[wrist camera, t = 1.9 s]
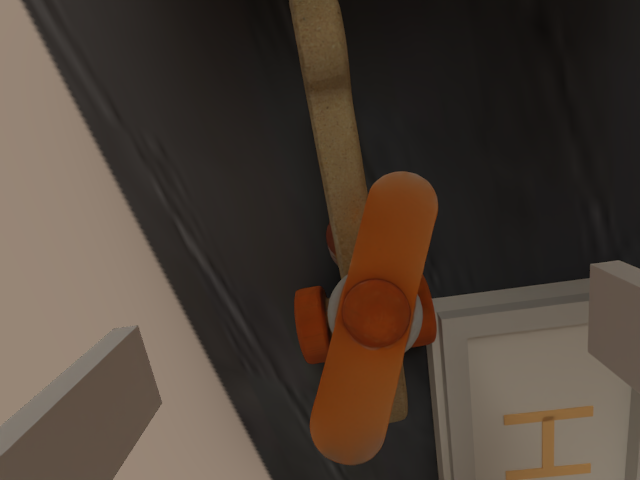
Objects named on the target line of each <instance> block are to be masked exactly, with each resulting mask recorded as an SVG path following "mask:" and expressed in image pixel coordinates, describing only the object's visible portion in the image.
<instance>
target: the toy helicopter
mask: <svg viewBox="0 0 640 480" xmlns="http://www.w3.org/2000/svg"><path fill="white" fill-rule="evenodd" d="M289 6H290V11H291V16H292V22H293V27H294V33H295V38H296V44H297V48H298V54H299V60H300V65H301V71H302V76H303V82H304V87H305V92H306V98H307V103H308V108H309V113H310V119H311V124H312V130H313V135H314V141H315V146H316V151H317V156H318V161H319V167H320V172H321V177H322V182H323V188H324V193H325V198H326V203H327V208H328V214H329V220H330V221H329V225H328V227H327V231H326V240H327V244H328V248H329V251H330V255H331V257H332V259H333V261H334V262H335V263H336V264H337V265H338V266H339V271H340V276H341V280H340V282H339V283H338V284H337V285H336V287H335V289H334V290H333V292H332V294H331V297H330V298H327V297H326V293H325V291H324V289H323V288H322V287H321V286H314V287H308V288H303V289H299V290H297V291H296V293H295V299H294V314H295V323H296V330H297V335H298V339H299V343H300V348H301V351H302V353H303V356H304V358H305V360H306V362H307V363H309V364H316V363H322V362H325V365H324V369H323V372H322V376H321V380H320V384H319V387H318V391H317V395H316V398H315V401H314V405H313V408H312V412H311V418H310V432H311V436H312V440H313V442H314V444H315V446H316V447H317V449H318V450H319V451H320V452H321V453H322V454H323V455H324V456H325V457H326V458H328V459H330V460H332V461H335V462H337V463H341V464H345V465H357V464H362V463H365V462H366V461H368V460H370V459H372V458H373V457H374V456H375V455H376V454H377V453H378V451H379V450H380V449H381V447H382V445H383V443H384V440H385V436H386V432H387V428H388V424H389V423H392V422H397V421H401V420H403V419H405V418H406V416H407V412H408V401H407V390H406V382H405V375H404V367H403V358H404V353H405V352H406V351H407V350H409V349H410V348H411V347H418V346H424V345H429V344H431V343H433V342H434V341H435V339H436V334H437V324H436V317H435V311H434V306H433V301H432V297H431V294H430V290H429V287H428V284H427V282H426V280H425V278H424V276H423V270H424V265H425V261H426V257H427V253H428V249H429V245H430V240H431V236H432V232H433V228H434V224H435V220H436V217H437V213H438V199H437V196H436V193H435V191H434V189H433V187H432V186H431V184H430V183H429V182H428V181H427V180H425V179H424V178H422V177H421V176H419V175H417V174H415V173H410V172H404V171H401V172H393V173H390V174H387V175H384V176H383V177H381V178H380V179H378V180H377V181H376V182H375V183H374V184H373V185H372V187H371V189H370V191H369V194H368V192H367V186H366V180H365V174H364V168H363V162H362V155H361V149H360V143H359V137H358V131H357V125H356V119H355V113H354V107H353V101H352V92H351V82H350V70H349V60H348V51H347V44H346V37H345V31H344V25H343V20H342V15H341V10H340V6H339V3H338V0H289Z"/></svg>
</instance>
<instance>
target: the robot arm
mask: <svg viewBox="0 0 640 480" xmlns="http://www.w3.org/2000/svg"><path fill="white" fill-rule="evenodd" d="M588 352H589V353H590V354H591V355H592V356H594V357H595V358H596V359H597V360H599V361H600V362H601V363H602V364H603V365H605V366H606V367H607V368H608V369H610V370H611V371H612V372H613V373H614V374H616V375H617V376H618V377H619V378H621V379H622V380H623V381H624V382H625V383H627V384H628V385H629V386H630V387H632V388H633V389H634V390H635V391H637V392H638V393H639V394H640V269H639V268H637V267H634V266H632V265H629V264H627V263H625V262H622V261H620V260H617V261H610V262H602V263H595V264H590V289H589V325H588ZM161 404H162V401H161V398H160V395H159V391H158V388H157V385H156V382H155V379H154V375H153V372H152V369H151V366H150V363H149V360H148V356H147V353H146V350H145V347H144V343H143V340H142V337H141V334H140V331H139V328H138V326H131V327H123V328H116V329H113V330H112V331H110V332H109V333H108V334H107V335H106V336H105V337H104V338H102V339H101V340H100V341H99V342H98V343H97V344H95V345H94V346H93V347H92V348H91V349H90V350H88V351H87V352H86V353H85V354H84V355H83V356H81V357H80V358H79V359H78V360H77V361H76V362H74V363H73V364H72V365H71V366H70V367H69V368H67V369H66V370H65V371H64V372H63V373H62V374H61V375H59V376H58V377H57V378H56V379H55V380H54V381H52V382H51V383H50V384H49V385H48V386H47V387H45V388H44V389H43V390H42V391H41V392H40V393H39V394H37V395H36V396H35V397H34V398H33V399H32V400H30V401H29V402H28V403H27V404H26V405H24V407H22V408H21V409H20V410H19V411H18V412H16V413H15V414H14V415H13V416H12V417H11V418H9V419H8V420H7V421H6V422H5V423H4V424H3V425H1V426H0V480H113V478H114V477H115V475H116V474H117V472H118V470H119V469H120V467H121V466H122V464H123V463H124V461H125V459H126V458H127V456H128V455H129V453H130V452H131V450H132V449H133V447H134V446H135V444H136V443H137V441H138V439H139V438H140V436H141V435H142V433H143V432H144V430H145V428H146V427H147V426H148V424H149V422H150V421H151V419H152V418H153V416H154V415H155V413H156V412H157V410H158V408H159V407H160V405H161Z"/></svg>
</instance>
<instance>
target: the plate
mask: <svg viewBox="0 0 640 480" xmlns="http://www.w3.org/2000/svg"><path fill="white" fill-rule="evenodd" d="M589 289H590V278H586V279H579V280H571V281H563V282H556V283H548V284H541V285H533V286H525V287H518V288H510V289H502V290H495V291H487V292H479V293H472V294H464V295H457V296H449V297H441V298H434V299H432V301H433V306H434V311H435V317H436V324H437V334H436V339H435V341H434V342H433V343H431V344H429V345H426V348H427V359H428V369H429V380H430V391H431V401H432V412H433V423H434V433H435V444H436V455H437V466H438V476H439V480H640V394H639V393H638V392H637V391H635V390H634V389H633V388H632V387H630V386H629V385H628V384H627V383H625V382H624V381H623V380H622V379H621V378H619V377H618V376H617V375H616V374H614V373H613V372H612V371H611V370H610V369H608V368H607V367H606V366H605V365H603V364H602V363H601V362H600V361H599V360H597V359H596V358H595V357H594V356H592V355H591V354H590V353H589V352H588V325H589Z"/></svg>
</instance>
